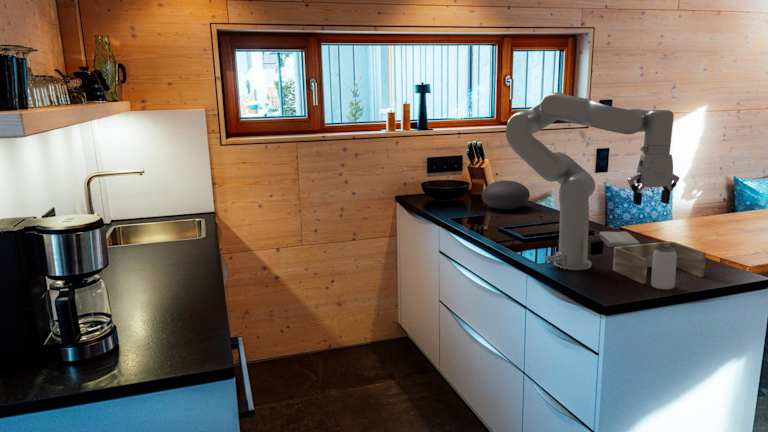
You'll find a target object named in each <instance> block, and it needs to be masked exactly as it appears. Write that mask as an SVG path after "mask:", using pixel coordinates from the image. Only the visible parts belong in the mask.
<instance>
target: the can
mask: <svg viewBox="0 0 768 432" xmlns="http://www.w3.org/2000/svg"><path fill="white" fill-rule="evenodd" d="M675 251H676V250H675V249H674V248H670V247H656V248H655V251H654V253H653V262H652V267H651V279H650V281H651V282H650V285H651V286H652V288H654V289H656V290H662V291H669V290H673V289H674V288H675V286H676V274H677V273H676V271H677V268H676V261H677V254H676V252H675Z"/></svg>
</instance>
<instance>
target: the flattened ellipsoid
mask: <svg viewBox="0 0 768 432" xmlns="http://www.w3.org/2000/svg"><path fill="white" fill-rule="evenodd" d="M530 196H531V194H530V191H529V189H528V188H527V187H526V186H525V185H524V184H523V183H520V182H518V181H514V180H505V179H504V180H497V181H494V182H492V183H490V184H488V185H487V186H486V187H484V189H483V190H482V192H481V198H482V199H481V200H482V201H483V202H484V203H485V204H486V205H488V206H489V207H490V208H491V207H492V208H494V209H497V210H501V209H510V210H515V209H518V208H520V207H523V206H524V205H525V204H527V203H528V202H529V200H530Z"/></svg>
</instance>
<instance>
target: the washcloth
mask: <svg viewBox="0 0 768 432" xmlns="http://www.w3.org/2000/svg"><path fill="white" fill-rule="evenodd" d="M600 237H601V238H600ZM599 238H600V240H601V241H603V243H604V244H606V245H607V246H608V247H609V248H614V247H620V246H630V245H640V244H641V243H640V241H639V240H638V239H636V238H635V237H634V235H632V234H631V233H629V232H628V231H600V232H599Z"/></svg>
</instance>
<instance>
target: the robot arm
mask: <svg viewBox="0 0 768 432" xmlns="http://www.w3.org/2000/svg"><path fill="white" fill-rule="evenodd" d="M556 121H562V122H568V123H571V124H577V125H580V126H581V125H582V126H585V127H589V128H594V129H597V130H601V131H602V130H603V131H607V132H612V133H617V134H622V135H634V134H637V133H642V132H643V133H644V140H643V146H641V147H640V152H642V154H640V157H639V160H638V165H637V169H636V173H635V174H633V175H632V176H630V177H628V178H627V183H628V185H629V188H630V189H631V191H632V192H633V199H632V204H634V205H637V206H641V205H642V201H643V200H642V199H643V193H642V191H643V190H644V189H645V188H662V190H661V194H660V195H661V196H660V203H661V204H665V205H669V204H670V200H671V199H670V198H671V192H673V191H674V188H675V187H677V184H678V182H679V181H680V177H679V176H678V175H676V174H674V160H673V155H672V154H670V153H671V146H672V145H671V143H672V137H673V136H672V135H673V126H674V112H673V111H671V110H668V109H652V110H648V109H647V110H646V109H638V108H631V109H626V108H621V107H617V106H616V107H615V106H610V105H608V104H603V103H600V102H598V101H596V100H595V99H592V98H591V99H590V98H586V97H585V98H584V97H580V96H575V95H574V96H573V95H569V94H566V93H564V92H563V93H562V92H550V93H546V94H545V95H543V97H542V98H541V100H540V102H539V103H537V104H536V105H534V106H533V107H531V108H529V109H528V110H520V111H517V112H516V113H514V114H513V115H511V116H510V118H509V119H508V120H507V124H506V128H505V137H506V141H507V143H508V145H509V147H510V148H511V150H512V151H513V152H514V153H515V154H517V155H518V156H519V157H520V159H522V160H523V161H524V162H525V163H526V164H527V165H528V166H529V167H530V168H532V169H533V170H534V171H535V172H536V173H537V174H538V175H539V176H540V177H541V178H542V179H543V180H545V181H547V182H550V183H553V182H557V183H558V184H560V186H559V191H558V200H559V201H558V202H559V236H558V251H556V252H555V254H553V255H547V256H545V262H547V263H549V262H553V265H554V266H555V267H556V266H557V268H558V267H560V268H559V269H562V268H563V269H562V270H566V269H568V270H567V271H584V270H589V269H591V267H592V265H593V262H592V261H590V260H589V259H588V252H589V251H588V249H589V248H588V245H589V227H590V223H589V221H590V203H589V202H590V201H589V198H590V197H592V195H593V194H594V192H595V190H596V181H595V179H594V178H593V176H592V175H591V174H590V173H589V172H588V171H587V170H586V169H584V168H583V167H582V166H581V165H579V164H578V162H577V161H575V160H574V159H573V158H572V157H571V156H569V155H568V154H566V153H563V152H561V151H559V152H558V151H557V152H556V151H555V152H553V151H551V149H549V148H548V147H547V146H546V145H545V144H544V143H543V142H541V140H539V139H537V138H536V137H535V136H534V135H533V134H535V133H538V132H539V131H541V130H543V129H544V128H546V127H548V126H549V125H551V124H553V123H554V122H556Z"/></svg>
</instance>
